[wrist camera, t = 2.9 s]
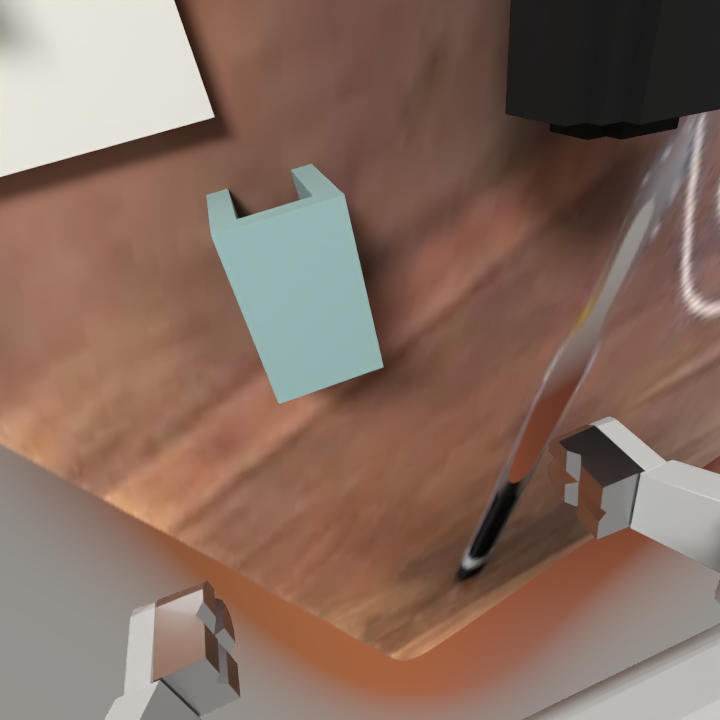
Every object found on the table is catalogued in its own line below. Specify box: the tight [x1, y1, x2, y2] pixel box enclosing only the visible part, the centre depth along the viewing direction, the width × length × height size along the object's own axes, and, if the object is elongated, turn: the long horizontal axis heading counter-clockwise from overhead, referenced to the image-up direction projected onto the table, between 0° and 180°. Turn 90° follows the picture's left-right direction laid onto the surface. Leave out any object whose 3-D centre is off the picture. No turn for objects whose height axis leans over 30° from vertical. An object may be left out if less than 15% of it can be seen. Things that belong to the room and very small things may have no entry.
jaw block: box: [206, 164, 383, 404], centre depth 22 cm, size 5×8×6 cm, turn 13°
